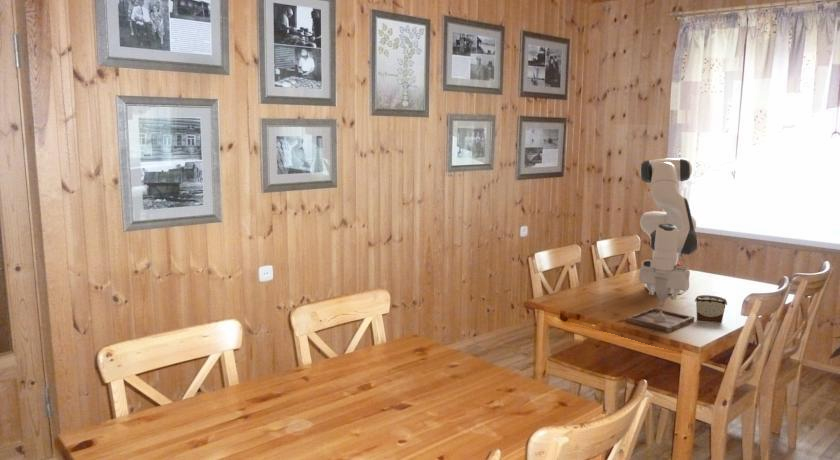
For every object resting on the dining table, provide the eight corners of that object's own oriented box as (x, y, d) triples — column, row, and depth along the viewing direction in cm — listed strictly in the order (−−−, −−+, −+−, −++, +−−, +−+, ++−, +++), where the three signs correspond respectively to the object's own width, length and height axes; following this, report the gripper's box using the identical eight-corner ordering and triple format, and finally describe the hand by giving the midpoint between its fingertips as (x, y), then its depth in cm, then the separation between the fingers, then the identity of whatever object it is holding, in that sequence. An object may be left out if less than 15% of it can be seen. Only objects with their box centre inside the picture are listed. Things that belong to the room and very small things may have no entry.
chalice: (666, 317, 261) (669, 275, 258) (672, 322, 254) (676, 279, 251) (648, 317, 261) (651, 275, 258) (654, 322, 254) (657, 279, 251)
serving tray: (652, 312, 272) (653, 307, 271) (693, 321, 259) (694, 317, 258) (626, 322, 257) (627, 317, 257) (668, 332, 244) (669, 327, 244)
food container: (723, 319, 262) (725, 296, 260) (725, 323, 256) (727, 300, 255) (691, 316, 266) (693, 293, 264) (693, 320, 260) (694, 297, 259)
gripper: (693, 267, 248) (690, 300, 251) (645, 259, 263) (643, 290, 266) (686, 269, 244) (683, 303, 246) (637, 261, 259) (635, 293, 261)
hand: (662, 297), depth 256 cm, fingers open, 8 cm apart
